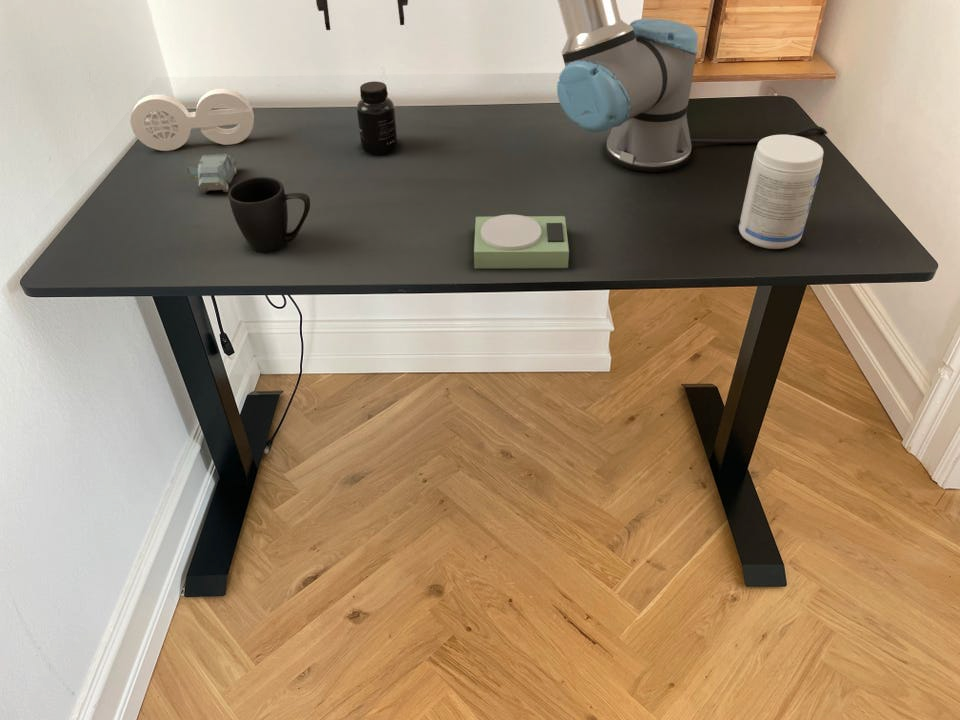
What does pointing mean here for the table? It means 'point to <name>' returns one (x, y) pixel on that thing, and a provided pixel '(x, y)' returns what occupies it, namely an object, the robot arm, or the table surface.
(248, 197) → the mug
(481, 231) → the scale
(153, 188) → the table surface
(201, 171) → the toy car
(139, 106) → the white double disc plate
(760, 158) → the supplement tub
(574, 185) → the table surface
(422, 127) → the table surface
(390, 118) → the supplement bottle
